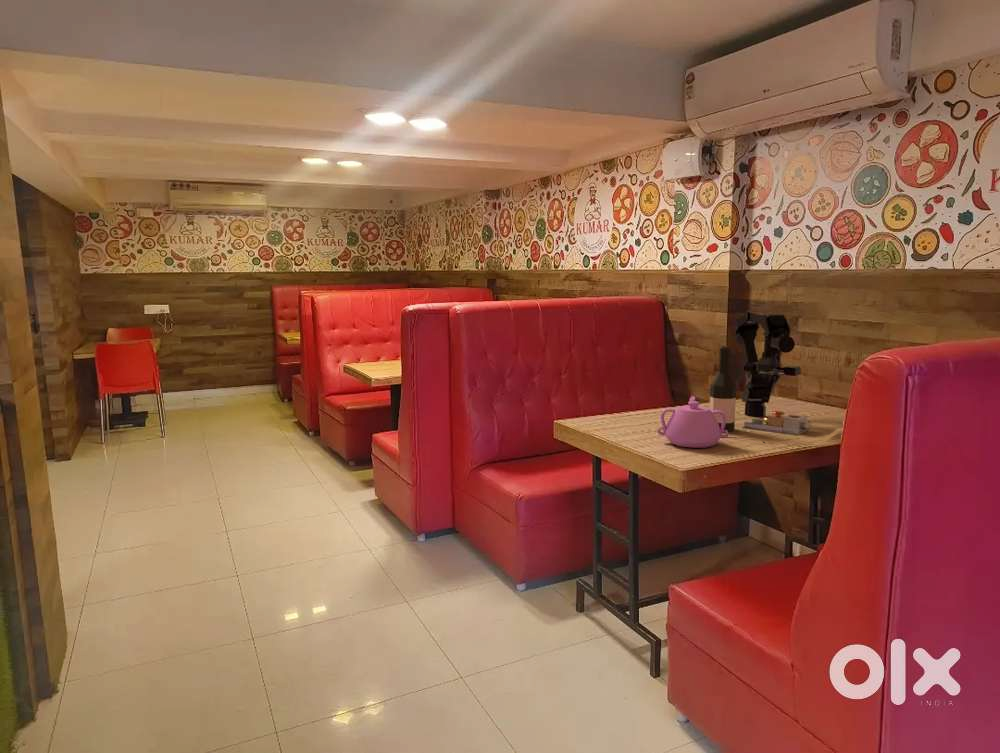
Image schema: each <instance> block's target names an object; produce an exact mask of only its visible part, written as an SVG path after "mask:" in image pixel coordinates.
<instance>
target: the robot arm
mask: <svg viewBox="0 0 1000 753" xmlns="http://www.w3.org/2000/svg"><path fill="white" fill-rule="evenodd" d="M760 325H761V326H760ZM760 327H761V329H763V330H764V332H763V333H762V335H763V336H764V340H763V343H764V346H763V352H762V354H761V357H760V358H758V353H757V349H756V346H755V339H756V337H757V335H758V334H757V333H758V331H759V329H760ZM731 329H732V334H733V336H734V340H735V341H736V342H737V343H738V344H739V345H740V347H741V352H742V354H743V355H742V356H743V359H744V363H743V366H742V371H743V372H746V375H747V381H746V383H745V385H744V388H745V389H744V391H743V392H742V394H741V401H742V402H744V404H745V407H744V416H747V417H749V418H750V417H751V418H764V417H766V414H767V412H766V411H767V406H766V404H768V403H769V401H770V398H771V394H772V393H773V390H774V389H775V386H776V384H777V382H778V381H779V380H780V378H781V377H782V376H790V377H796V376H799V375H801V374H802V368H801V367H800V366H798V365H787V366H783V367H782V364H783V363H781V358H782V356H783V353H785V354H786V353H787V354H789V353H790V352H792V351H793V350H794V349H795V345H796V343H795V340H794V338H792V336H790V334H791V327H790V325H789V322H788V319H787V317H786V315H785V314H783V313H765V312H760V311H758V310H746V311H745V312H744V313H743V315H742V316H740V317H739V318H738V319H736V320H735V322H734V324H733V326H732V328H731Z"/></svg>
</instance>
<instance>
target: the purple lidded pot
mask: <svg viewBox="0 0 1000 753" xmlns="http://www.w3.org/2000/svg"><path fill="white" fill-rule="evenodd" d="M687 403H688V405H680V406H678V407H676V409H673V408H666V409H664V410H663V411H661V414H660V421H661V425H662V426H659V427H658V428H657V435H659V436H665V437H666V439H668V441H669V442H670V443H671V444H672V445H676V446H678V447H680V448H681V447H683V448H685V447H686V448H700V449H701V448H703V449H706V448H709V447H713V446H715V445H716V444H717V443H718V441H720V439H723V440H724V439H726V438H728V437H729V433H730V432H728V431H727V430H724V427H725V424H726V419H727V418H726V415H725V413H724V412H722V411H720V410H714V411H711V410H710V407H706V406H700V402H699V401H696V397H695V396H694V395H691V396H690V397H689V401H688V402H687ZM666 413H672V414H671V416H670V417H669V419H668V421H667V422H666V420H665V414H666ZM714 414H721V415H722V416H723V422H722V425H721V428H720V427H719V424H718V422H717V420H716V418H715V416H714ZM661 430H663V432H662V431H661ZM724 433H725V434H724Z"/></svg>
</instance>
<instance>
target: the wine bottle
mask: <svg viewBox="0 0 1000 753" xmlns="http://www.w3.org/2000/svg"><path fill="white" fill-rule="evenodd" d="M718 354H719V356H718V373H717V374H716V376H715V377H714V379H713V380H712V381H711V383H710V392H709V409H710V410H711V411H714V410H720V411H722V412H724V413H725V415H726V418H727V419H726V424H725V427H724V430H727V431H728V433H733V432H735V422H736V400H737V398H736V397H737V384H736V382H735V381H734V379H733V377H732V375H731V373H730V362H731V360H730V359H731V348H730V346H729V345H721V346H720V347H719V353H718ZM714 416H715V418H716V420H717V422H718V424H719V427H720V428H721V425H722V422H723V416H722V415H721V414H714Z"/></svg>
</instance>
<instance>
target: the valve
mask: <svg viewBox="0 0 1000 753" xmlns="http://www.w3.org/2000/svg"><path fill="white" fill-rule="evenodd" d="M783 417H788V415H785V412H784V411H782V410H781V411H780V410H773V411H772V414H771V415H769V416H768V417H766V416H765V417H762V420H763V424H764V425H771V426H779V427H783Z"/></svg>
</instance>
